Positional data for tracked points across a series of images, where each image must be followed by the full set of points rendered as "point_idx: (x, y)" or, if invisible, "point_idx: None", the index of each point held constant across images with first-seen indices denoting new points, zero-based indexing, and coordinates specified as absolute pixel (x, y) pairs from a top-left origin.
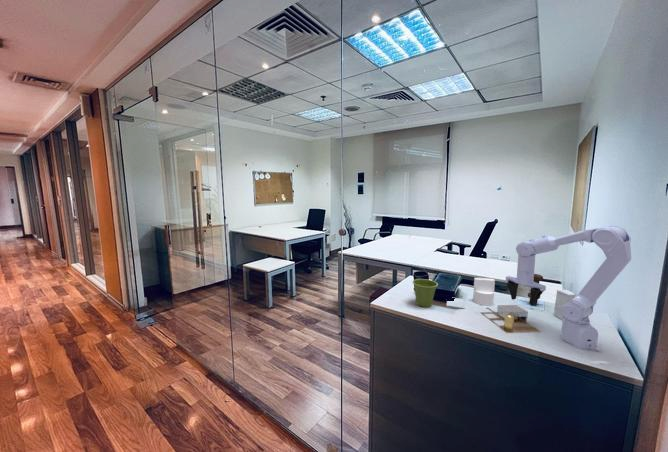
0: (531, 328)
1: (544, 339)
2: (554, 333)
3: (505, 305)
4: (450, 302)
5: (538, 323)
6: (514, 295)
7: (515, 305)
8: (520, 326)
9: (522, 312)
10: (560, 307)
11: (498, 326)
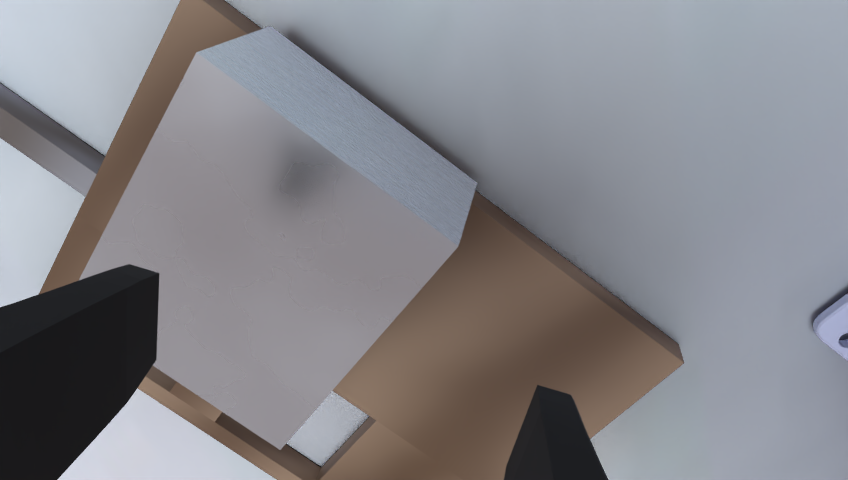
0: (569, 348)
1: (714, 433)
2: (812, 203)
3: (123, 233)
4: None
5: (594, 8)
6: (97, 375)
7: (205, 97)
8: (463, 374)
9: (402, 309)
10: None
11: None
